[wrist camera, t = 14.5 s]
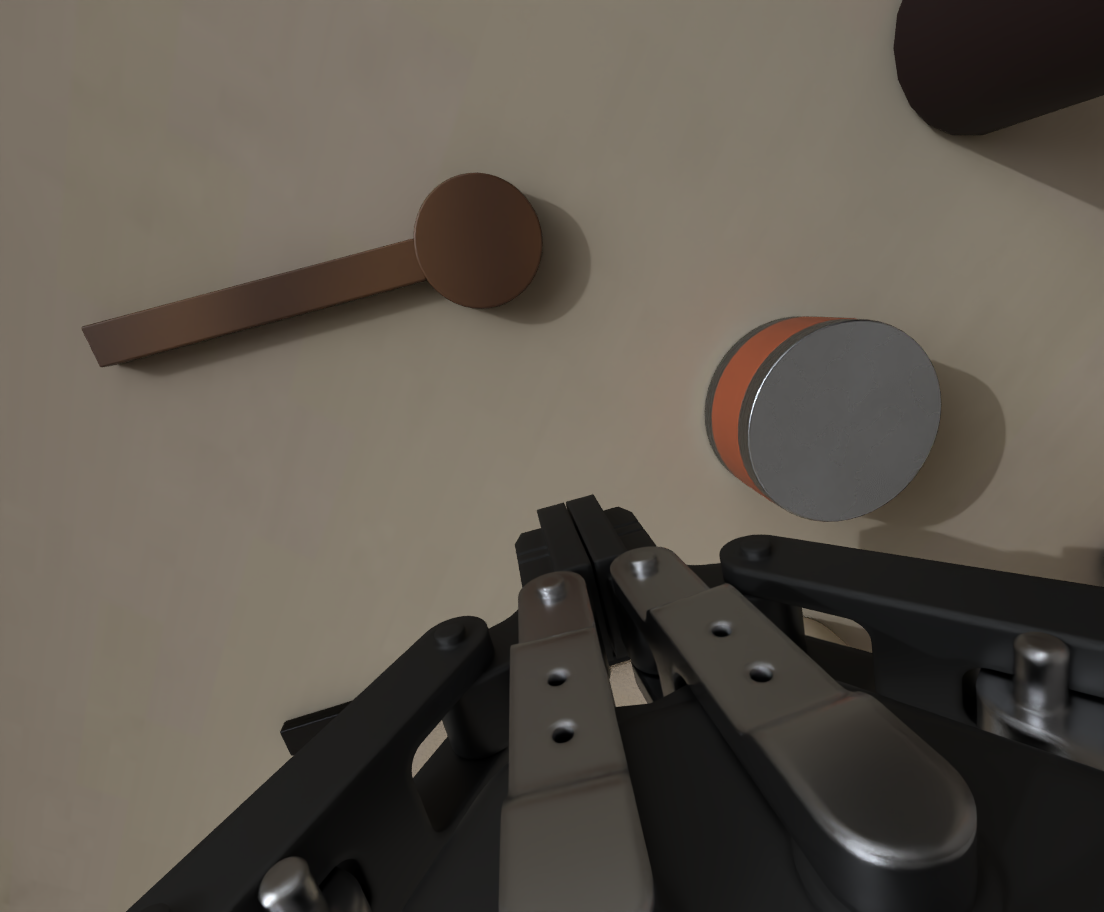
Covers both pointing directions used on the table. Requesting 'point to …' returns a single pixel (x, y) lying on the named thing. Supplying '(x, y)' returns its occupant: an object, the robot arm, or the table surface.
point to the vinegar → (997, 59)
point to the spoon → (360, 274)
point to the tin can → (824, 414)
